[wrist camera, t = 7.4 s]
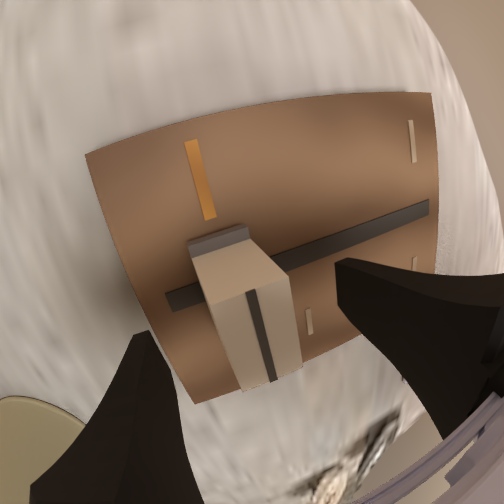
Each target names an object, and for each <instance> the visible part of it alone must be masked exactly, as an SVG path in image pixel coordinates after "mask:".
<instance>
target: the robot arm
mask: <svg viewBox="0 0 504 504" xmlns="http://www.w3.org/2000/svg"><path fill="white" fill-rule="evenodd" d="M334 266H335V278H336V291H337V305H338V307H339V308H340V309H341V311H342V312H343V313H344V315H345V316H346V317H347V319H348V320H349V321H350V322H351V323H352V324H353V325H354V326H355V327H356V328H357V329H358V330H359V331H360V332H361V333H362V334H363V335H364V336H365V337H366V338H367V339H368V340H369V341H370V342H371V343H372V344H373V345H374V346H375V347H376V348H377V349H378V350H380V351H381V352H382V353H383V354H384V355H385V356H386V357H387V358H388V359H389V360H390V362H391V363H392V364H393V365H394V366H395V367H396V369H397V370H398V371H399V372H400V374H401V375H402V376H403V377H404V378H403V383H404V384H407V383H408V384H409V385H410V387H411V388H412V389H413V391H414V392H415V394H416V395H417V396H418V398H419V399H420V401H421V403H422V404H423V406H424V407H425V409H426V410H427V412H428V413H429V415H430V417H431V419H432V420H433V422H434V424H435V426H436V427H437V429H438V431H439V433H440V435H441V437H442V439H443V441H442V442H441V443H440V444H439V445H437V446H436V447H435V448H434V449H432V450H431V451H430V452H429V453H427V454H426V455H425V456H423V457H422V458H421V459H419V460H418V461H417V462H415V463H414V464H413V465H411V466H410V467H409V468H407V469H406V470H404V471H403V472H401V473H400V474H398V475H397V476H396V477H394V478H392V479H391V480H389V481H388V482H386V483H385V484H383V485H382V486H380V487H379V488H377V489H375V490H373V491H372V492H370V493H368V494H367V495H365V496H363V497H361V498H360V499H358V500H356V501H354V502H352V503H350V504H394V503H395V502H397V501H399V500H400V499H401V498H403V497H404V496H406V495H407V494H409V493H410V492H412V491H413V490H414V489H416V488H417V487H418V486H420V485H421V484H422V483H424V482H425V481H426V480H428V479H429V478H430V477H432V476H433V475H434V474H435V473H437V472H438V471H439V470H440V469H441V468H443V467H444V466H445V465H446V464H447V463H448V462H449V461H451V460H452V459H453V458H454V457H455V456H456V455H457V454H458V453H459V452H461V451H462V450H463V449H464V448H465V447H466V446H467V445H468V444H469V443H470V442H471V441H472V440H473V441H474V444H473V446H471V447H470V449H468V450H467V451H466V453H465V454H464V455H463V457H462V458H461V459H460V460H459V462H458V463H457V464H456V465H455V466H454V467H453V468H452V469H451V470H450V471H449V472H448V473H447V474H446V475H445V479H446V480H447V481H448V482H449V484H450V485H451V487H450V489H449V490H447V491H446V492H445V493H444V494H442V495H441V496H440V497H439V498H438V499H436V500H435V501H434V502H432V503H431V504H504V273H502V274H495V275H483V276H449V275H438V274H429V273H422V272H416V271H411V270H406V269H401V268H396V267H392V266H387V265H383V264H379V263H374V262H370V261H366V260H361V259H356V258H349V257H347V258H344V259H342V260H339V261H337V262H334ZM29 504H204V501H203V499H202V497H201V494H200V491H199V489H198V486H197V483H196V481H195V478H194V475H193V472H192V469H191V466H190V463H189V460H188V457H187V453H186V449H185V444H184V439H183V433H182V427H181V420H180V414H179V407H178V400H177V393H176V389H175V385H174V381H173V378H172V374H171V370H170V368H169V366H168V365H167V363H166V361H165V359H164V357H163V356H162V354H161V352H160V350H159V348H158V346H157V344H156V343H155V341H154V339H153V337H152V335H151V333H150V331H149V330H147V331H144V332H141V333H138V334H135V335H133V337H132V339H131V341H130V343H129V345H128V348H127V350H126V352H125V354H124V356H123V359H122V361H121V363H120V365H119V367H118V370H117V372H116V374H115V376H114V378H113V380H112V382H111V384H110V386H109V388H108V390H107V391H106V393H105V395H104V397H103V399H102V401H101V403H100V404H99V406H98V408H97V409H96V411H95V412H94V414H93V415H92V417H91V419H90V420H89V422H88V423H87V424H86V426H85V427H84V428H83V430H82V431H81V432H80V434H79V435H78V436H77V438H76V439H75V440H74V442H73V443H72V444H71V445H70V447H69V448H68V449H67V450H66V451H65V452H64V453H63V455H62V456H61V457H60V458H59V459H58V460H57V461H56V462H55V463H54V464H53V465H52V466H51V467H50V468H49V469H48V470H47V471H46V472H44V473H43V474H42V475H41V476H40V477H39V478H38V479H37V480H35V481H34V482H33V483H32V484H31V485H30V495H29Z"/></svg>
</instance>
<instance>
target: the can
mask: <svg viewBox="0 0 504 504" xmlns="http://www.w3.org/2000/svg"><path fill="white" fill-rule="evenodd" d="M85 426H86V425H85V424H84V423H82V422H81V421H80V420H78V419H77V418H76V417H74V416H72V415H71V414H69V413H67V412H66V411H64V410H62V409H60V408H58V407H55V406H53V405H51V404H48V403H45V402H43V401H40V400H36V399H32V398H28V397H19V396H13V397H6V398H4V399H1V400H0V504H29V495H30V485H31V484H32V483H33V482H34V481H35V480H37V479H38V478H39V477H40V476H41V475H42V474H43V473H44V472H46V471H47V470H48V469H49V468H50V467H51V466H52V465H53V464H54V463H55V462H56V461H57V460H58V459H59V458H60V457H61V456H62V455H63V453H64V452H65V451H66V450H67V449H68V448H69V447H70V445H71V444H72V443H73V442H74V440H75V439H76V438H77V436H78V435H79V434H80V432H81V431H82V430H83V428H84V427H85Z"/></svg>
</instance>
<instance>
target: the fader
mask: <svg viewBox="0 0 504 504" xmlns="http://www.w3.org/2000/svg"><path fill="white" fill-rule="evenodd" d="M186 243H187V246H188V249H189V252H190V256H191V259H192V262H193V265H194V268H195V271H196V273H197V276H198V279H199V282H200V285H201V288H202V291H203V294H204V297H205V299H206V302H207V305H208V308H209V311H210V313H211V316H212V319H213V322H214V324H215V327H216V330H217V332H218V335H219V338H220V340H221V343H222V345H223V347H224V350H225V352H226V354H227V357H228V359H229V362H230V364H231V366H232V369H233V371H234V373H235V376H236V378H237V380H238V383H239V385H240V387H241V390H242V392H244V391H247V390H249V389H252V388H254V387H257V386H259V385H262V384H264V383H267V382H269V381H270V383H271V382H273V381H275V380H278V378H279V377H281V376H284V375H286V374H288V373H291V372H293V371H295V370H297V369H300V368H302V367H303V363H302V356H301V349H300V343H299V337H298V330H297V324H296V318H295V312H294V306H293V300H292V294H291V288H290V282H289V276H288V275H287V274H286V273H285V272H284V271H283V270H282V269H281V268H279V267H278V266H277V265H276V264H275V263H274V262H273V261H272V260H271V259H270V258H269V257H268V256H267V255H266V254H265V253H264V252H263V251H262V250H261V249H260V248H259V247H258V246H257V245H256V244H255V243H254V242H253V241H252V240H251V239H250V235H249V231H248V227H247V226H246V225H245V224H241V225H237V226H234V227H231V228H228V229H225V230H222V231H219V232H216V233H213V234H210V235H207V236H204V237H201V238H198V239H195V240H192V241H189V242H186Z"/></svg>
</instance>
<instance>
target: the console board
mask: <svg viewBox="0 0 504 504" xmlns="http://www.w3.org/2000/svg"><path fill="white" fill-rule="evenodd" d="M85 158H86V161H87V165H88V168H89V171H90V175H91V178H92V181H93V184H94V187H95V191H96V194H97V197H98V200H99V203H100V206H101V208H102V211H103V214H104V217H105V220H106V223H107V225H108V228H109V231H110V233H111V236H112V239H113V241H114V244H115V246H116V249H117V251H118V254H119V256H120V259H121V261H122V264H123V266H124V268H125V271H126V273H127V275H128V278H129V280H130V282H131V285H132V287H133V289H134V291H135V293H136V296H137V298H138V300H139V302H140V304H141V306H142V308H143V311H144V313H145V315H146V317H147V319H148V321H149V323H150V325H151V327H152V329H153V331H154V333H155V335H156V337H157V339H158V341H159V343H160V344H161V346H162V348H163V350H164V352H165V354H166V356H167V357H168V359H169V361H170V363H171V365H172V367H173V368H174V370H175V372H176V374H177V375H178V377H179V379H180V381H181V382H182V384H183V386H184V387H185V389H186V391H187V392H188V394H189V396H190V397H191V399H192V401H193V402H194V404H198V403H201V402H204V401H207V400H210V399H213V398H216V397H219V396H221V395H224V394H227V393H230V392H233V391H235V390H238V389H241V387H240V385H239V383H238V380H237V378H236V376H235V373H234V371H233V369H232V366H231V364H230V362H229V359H228V357H227V354H226V352H225V350H224V347H223V345H222V343H221V340H220V338H219V335H218V332H217V330H216V327H215V324H214V322H213V319H212V316H211V313H210V311H209V308H208V305H207V302H206V299H205V297H204V294H203V291H202V288H201V285H200V282H199V279H198V276H197V273H196V271H195V268H194V265H193V262H192V259H191V256H190V252H189V249H188V246H187V243H186V242H189V241H192V240H195V239H198V238H201V237H204V236H207V235H210V234H213V233H216V232H219V231H222V230H225V229H228V228H231V227H234V226H237V225H241V224H245V225H246V226H247V227H248V231H249V235H250V239H251V240H252V241H253V242H254V243H255V244H256V245H257V246H258V247H259V248H260V249H261V250H262V251H263V252H264V253H265V254H266V255H267V256H268V257H269V258H270V259H271V260H272V261H273V262H274V263H275V264H276V265H277V266H278V267H279V268H281V269H282V270H283V271H284V272H285V273H286V274H287V275H288V276H289V282H290V288H291V294H292V300H293V306H294V312H295V318H296V324H297V330H298V337H299V343H300V349H301V356H302V363H304V362H306V361H308V360H310V359H312V358H314V357H317V356H319V355H321V354H323V353H325V352H327V351H329V350H331V349H333V348H335V347H337V346H339V345H341V344H343V343H345V342H347V341H349V340H351V339H353V338H355V337H357V336H359V335H360V334H362V333H361V332H360V331H359V330H358V329H357V328H356V327H355V326H354V325H353V324H352V323H351V322H350V321H349V320H348V319H347V317H346V316H345V315H344V313H343V312H342V311H341V309H340V308H339V307H338V305H337V291H336V278H335V266H334V262H337V261H339V260H342V259H344V258H347V257H349V258H356V259H361V260H366V261H370V262H374V263H379V264H383V265H387V266H392V267H396V268H401V269H406V270H411V271H416V272H422V273H429V274H434V270H435V261H436V249H437V235H438V212H439V177H438V154H437V140H436V129H435V119H434V111H433V104H432V97H431V93H423V92H372V93H352V94H337V95H326V96H316V97H307V98H299V99H291V100H284V101H277V102H271V103H265V104H259V105H253V106H248V107H243V108H238V109H233V110H228V111H224V112H219V113H215V114H210V115H206V116H202V117H198V118H194V119H190V120H186V121H183V122H179V123H175V124H172V125H168V126H165V127H162V128H158V129H155V130H152V131H149V132H145V133H142V134H139V135H136V136H133V137H130V138H127V139H125V140H122V141H119V142H116V143H113V144H111V145H108V146H105V147H103V148H100V149H98V150H95V151H92V152H90V153H87V154H85Z"/></svg>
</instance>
